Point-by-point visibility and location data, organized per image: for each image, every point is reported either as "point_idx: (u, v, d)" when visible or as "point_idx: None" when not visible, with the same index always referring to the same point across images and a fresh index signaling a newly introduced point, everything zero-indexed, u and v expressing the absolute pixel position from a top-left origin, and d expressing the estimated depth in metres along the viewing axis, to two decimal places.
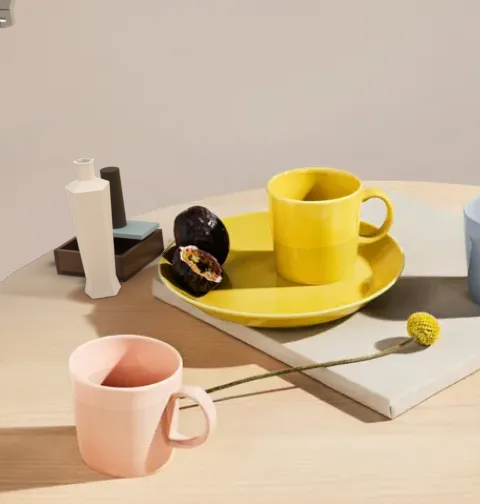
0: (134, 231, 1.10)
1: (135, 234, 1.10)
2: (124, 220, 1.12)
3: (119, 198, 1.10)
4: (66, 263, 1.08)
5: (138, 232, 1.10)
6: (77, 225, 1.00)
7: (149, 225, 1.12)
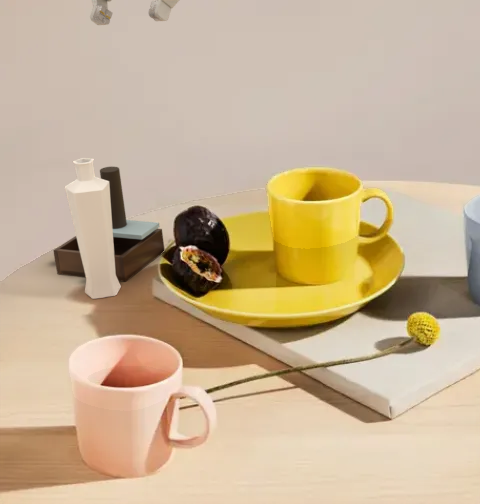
0: (134, 231, 1.10)
1: (135, 234, 1.10)
2: (124, 220, 1.12)
3: (119, 198, 1.10)
4: (66, 263, 1.08)
5: (138, 232, 1.10)
6: (77, 225, 1.00)
7: (149, 225, 1.12)
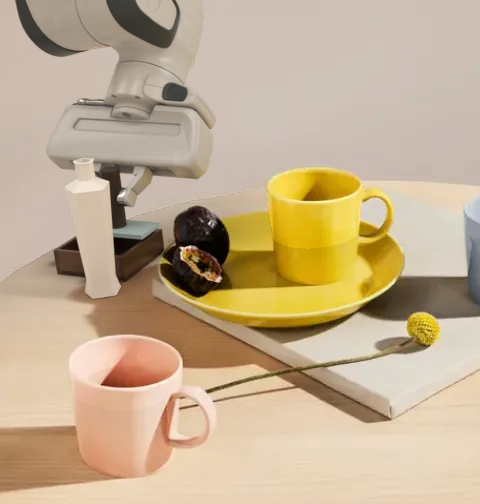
0: (134, 231, 1.10)
1: (135, 234, 1.10)
2: (124, 220, 1.12)
3: None
4: (66, 263, 1.08)
5: (138, 232, 1.10)
6: (77, 225, 1.00)
7: (149, 225, 1.12)
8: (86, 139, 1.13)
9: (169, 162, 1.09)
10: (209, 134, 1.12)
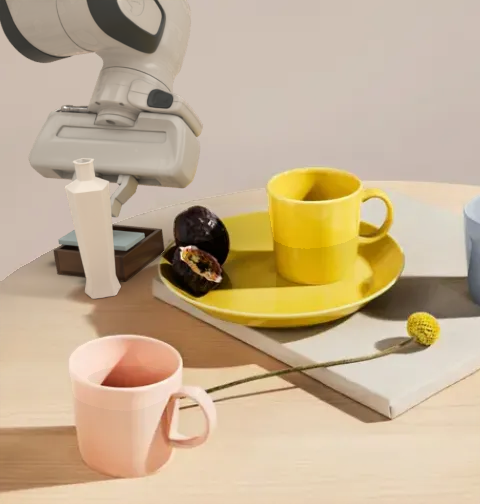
0: (118, 242, 1.07)
1: (119, 245, 1.06)
2: None
3: None
4: (66, 263, 1.08)
5: (122, 243, 1.07)
6: (77, 225, 1.00)
7: (134, 236, 1.09)
8: (70, 147, 1.10)
9: (154, 171, 1.06)
10: (195, 142, 1.09)
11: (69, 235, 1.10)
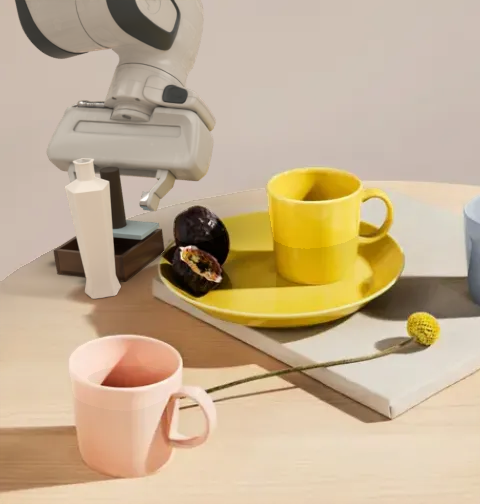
0: (134, 231, 1.10)
1: (135, 234, 1.09)
2: (124, 220, 1.12)
3: (118, 198, 1.10)
4: (66, 263, 1.08)
5: (138, 232, 1.10)
6: (77, 225, 1.00)
7: (149, 225, 1.12)
8: (87, 141, 1.13)
9: (169, 164, 1.09)
10: (209, 136, 1.12)
11: None
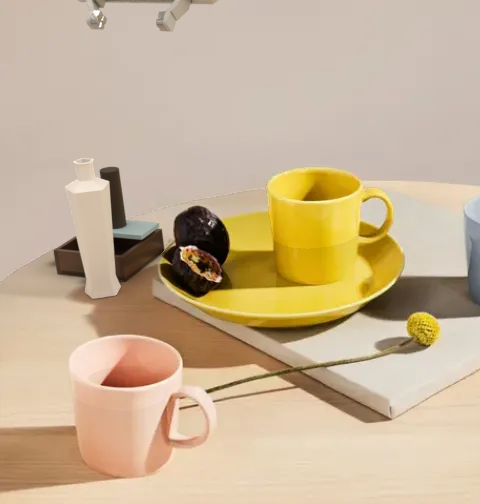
0: (134, 231, 1.10)
1: (135, 234, 1.09)
2: (124, 220, 1.12)
3: (118, 198, 1.10)
4: (66, 263, 1.08)
5: (138, 232, 1.10)
6: (77, 225, 1.00)
7: (149, 225, 1.12)
8: None
9: None
10: None
11: None
